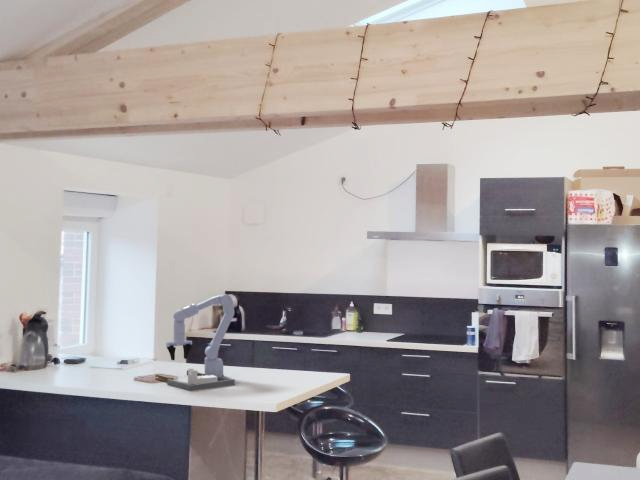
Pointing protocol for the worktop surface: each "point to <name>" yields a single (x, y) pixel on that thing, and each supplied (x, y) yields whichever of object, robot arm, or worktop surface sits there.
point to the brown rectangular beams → (164, 378)
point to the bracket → (199, 377)
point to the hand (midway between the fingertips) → (179, 359)
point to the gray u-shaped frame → (220, 382)
